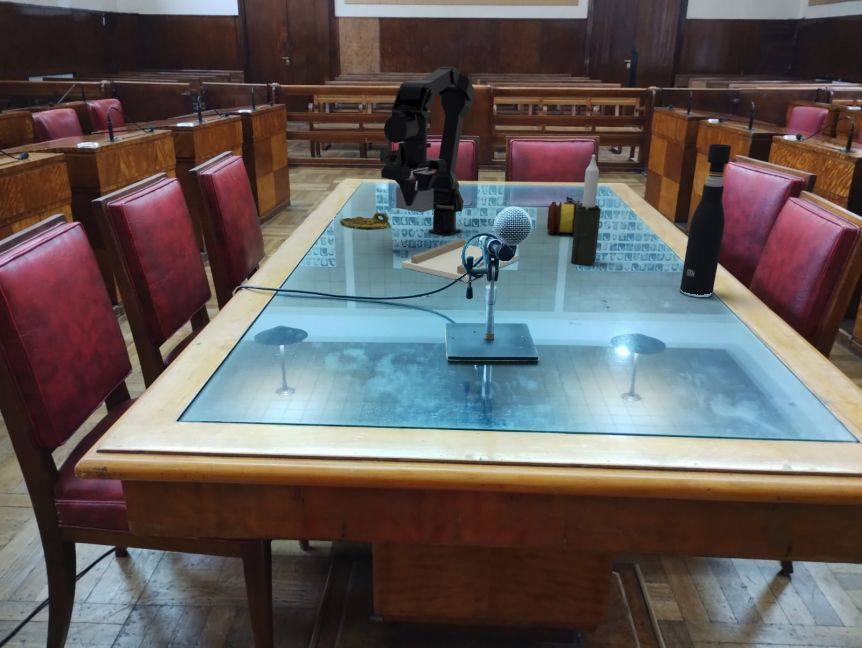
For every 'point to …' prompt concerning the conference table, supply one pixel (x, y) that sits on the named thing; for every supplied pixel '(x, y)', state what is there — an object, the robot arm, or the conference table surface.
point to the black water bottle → (706, 228)
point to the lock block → (416, 199)
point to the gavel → (562, 216)
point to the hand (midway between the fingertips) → (414, 204)
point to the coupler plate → (446, 260)
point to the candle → (587, 220)
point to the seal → (367, 222)
